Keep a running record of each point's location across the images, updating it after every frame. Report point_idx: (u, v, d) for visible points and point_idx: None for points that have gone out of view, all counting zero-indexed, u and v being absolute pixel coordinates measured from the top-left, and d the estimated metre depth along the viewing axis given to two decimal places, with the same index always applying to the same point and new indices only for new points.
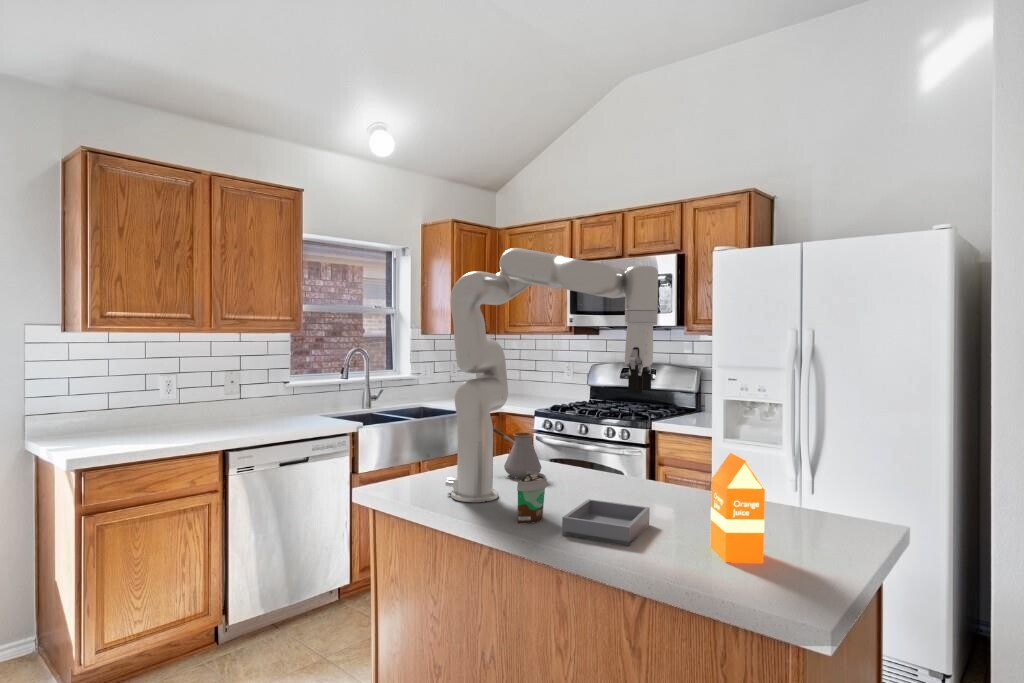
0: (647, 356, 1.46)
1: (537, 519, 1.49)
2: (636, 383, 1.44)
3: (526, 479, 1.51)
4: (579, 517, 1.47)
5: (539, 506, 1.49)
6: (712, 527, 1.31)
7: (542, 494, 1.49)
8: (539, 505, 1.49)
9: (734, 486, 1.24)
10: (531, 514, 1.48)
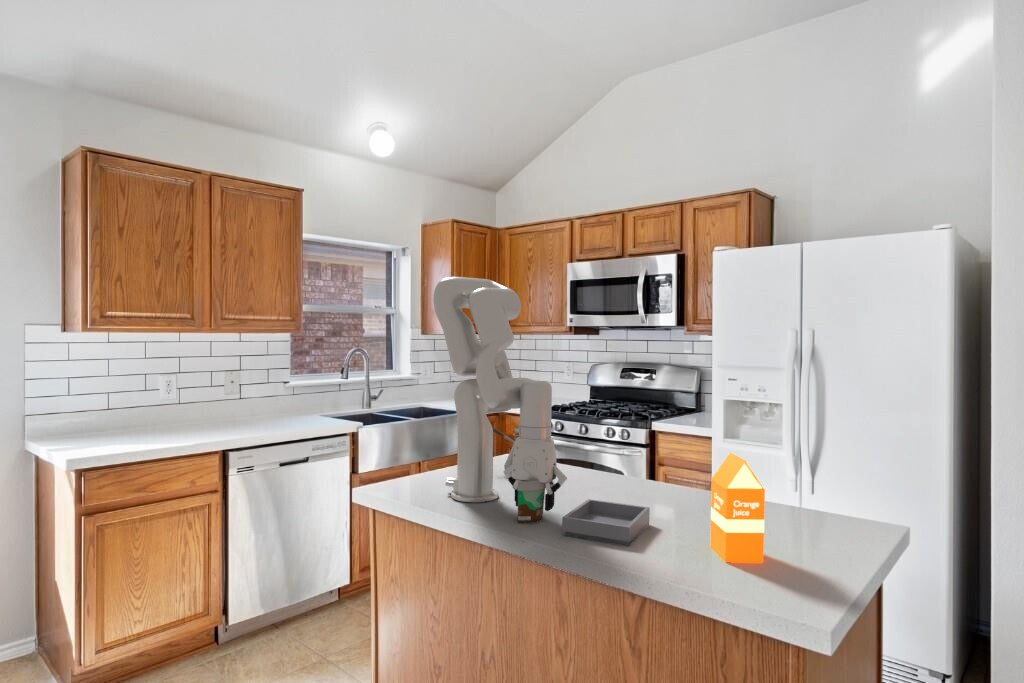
0: None
1: (537, 519, 1.49)
2: (553, 499, 1.50)
3: None
4: (579, 517, 1.47)
5: (539, 506, 1.49)
6: (712, 527, 1.31)
7: (542, 494, 1.49)
8: (539, 505, 1.49)
9: (734, 486, 1.24)
10: (531, 514, 1.48)
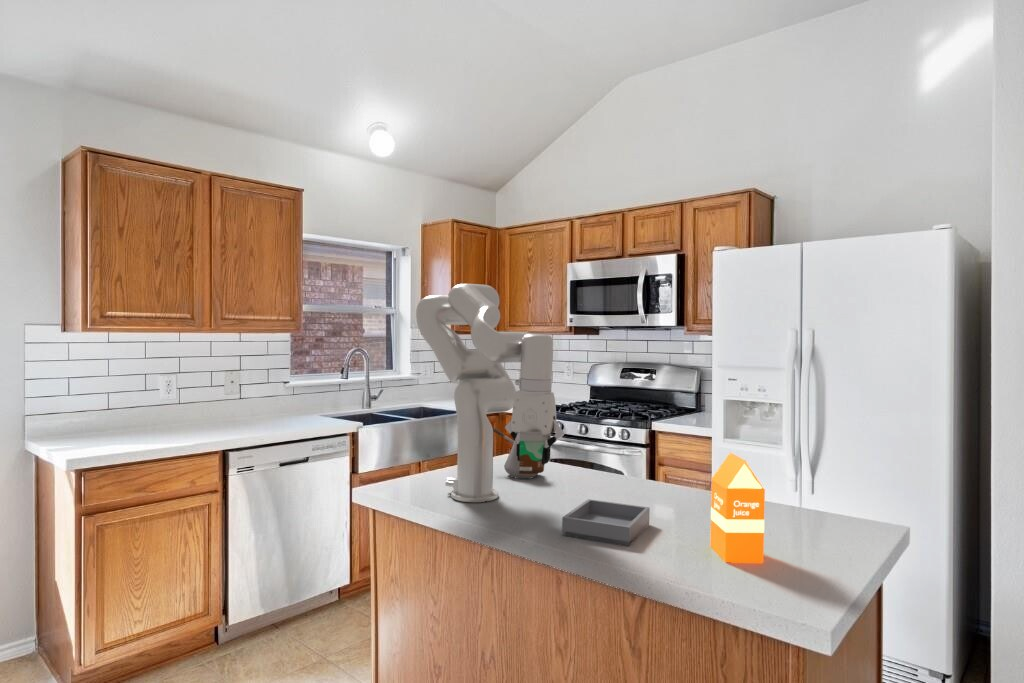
0: None
1: (538, 470, 1.49)
2: (549, 453, 1.50)
3: None
4: (579, 517, 1.47)
5: (541, 457, 1.49)
6: (712, 527, 1.31)
7: None
8: (541, 456, 1.49)
9: (734, 486, 1.24)
10: (533, 464, 1.47)
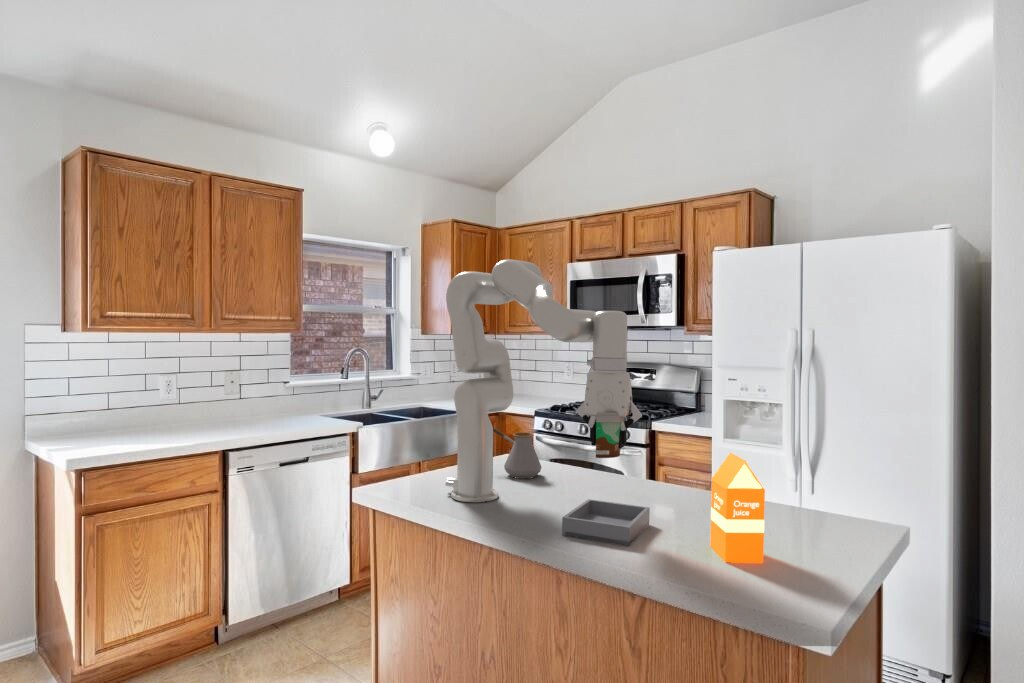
0: None
1: (615, 454, 1.40)
2: (626, 437, 1.42)
3: None
4: (579, 517, 1.47)
5: (618, 440, 1.40)
6: (712, 527, 1.31)
7: None
8: (618, 439, 1.40)
9: (734, 486, 1.24)
10: (610, 448, 1.39)
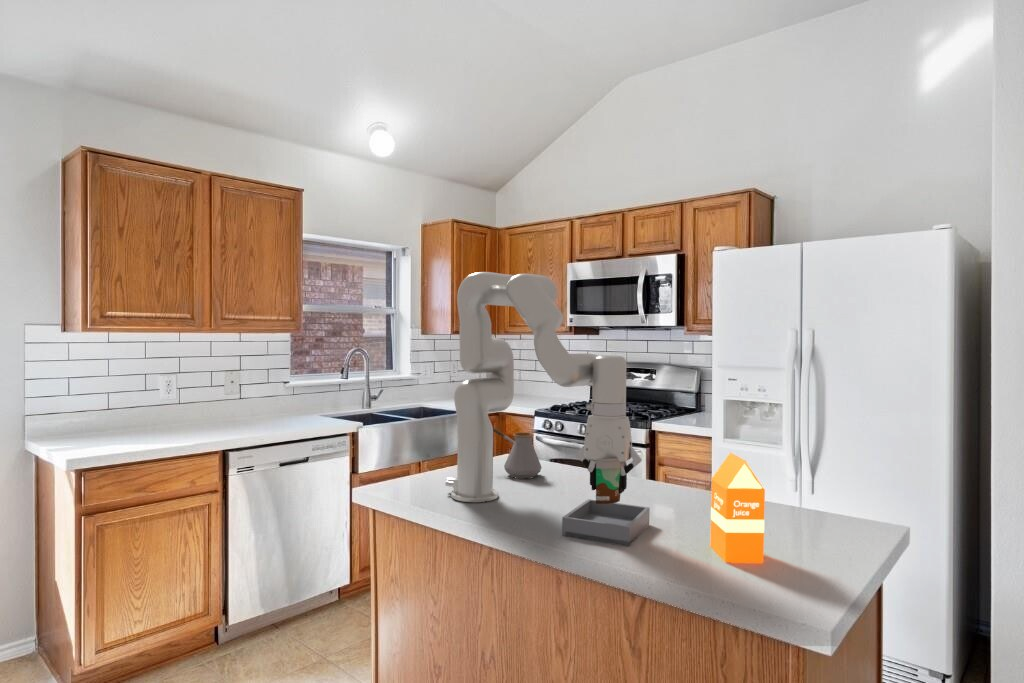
0: None
1: (616, 500, 1.40)
2: (626, 481, 1.42)
3: None
4: (579, 517, 1.47)
5: (618, 486, 1.40)
6: (712, 527, 1.31)
7: None
8: (618, 485, 1.40)
9: (734, 486, 1.24)
10: (610, 493, 1.39)
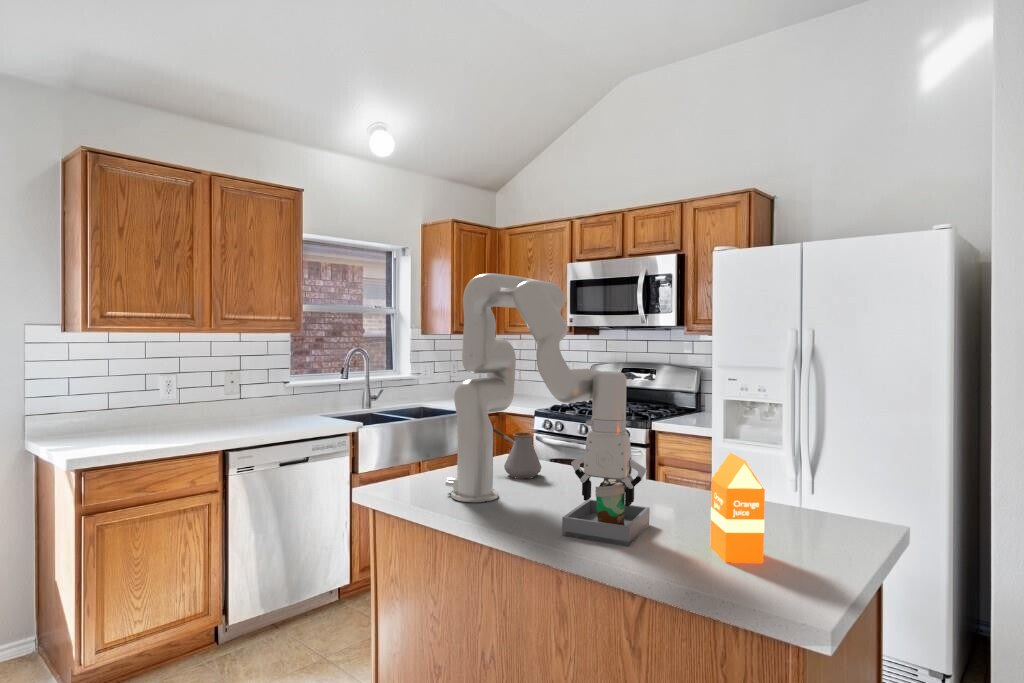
0: None
1: None
2: (633, 494, 1.41)
3: (604, 484, 1.43)
4: (579, 517, 1.47)
5: (620, 512, 1.40)
6: (712, 527, 1.31)
7: (622, 499, 1.41)
8: (620, 511, 1.40)
9: (734, 486, 1.24)
10: (612, 520, 1.39)
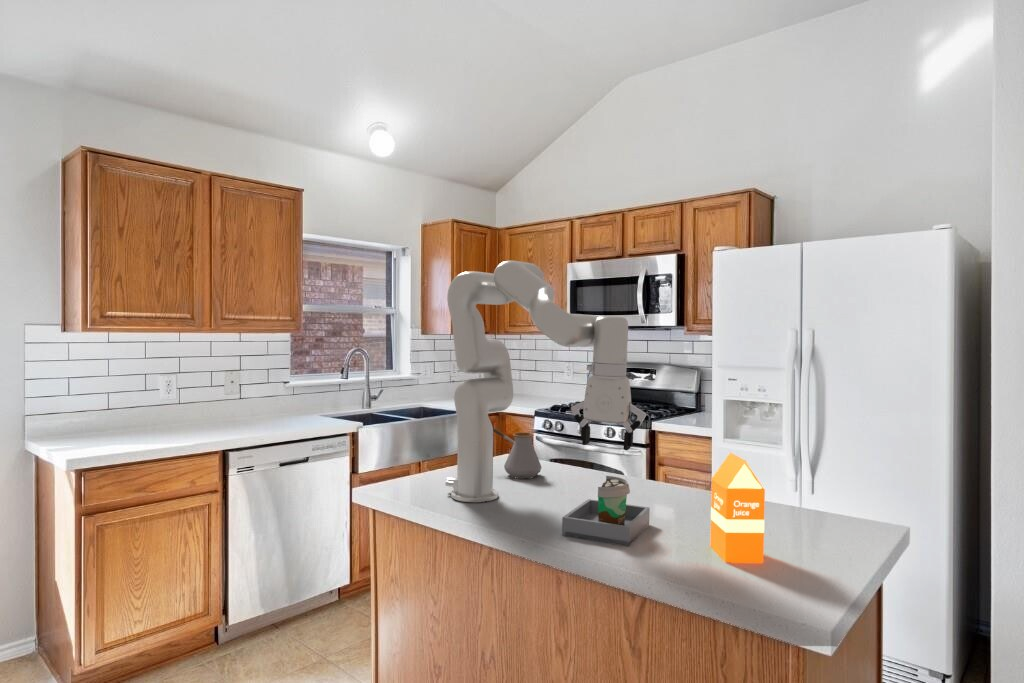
0: None
1: None
2: (632, 439, 1.41)
3: (607, 484, 1.43)
4: (579, 517, 1.47)
5: (621, 513, 1.40)
6: (712, 527, 1.31)
7: (624, 501, 1.41)
8: (621, 512, 1.40)
9: (734, 486, 1.24)
10: (613, 521, 1.39)
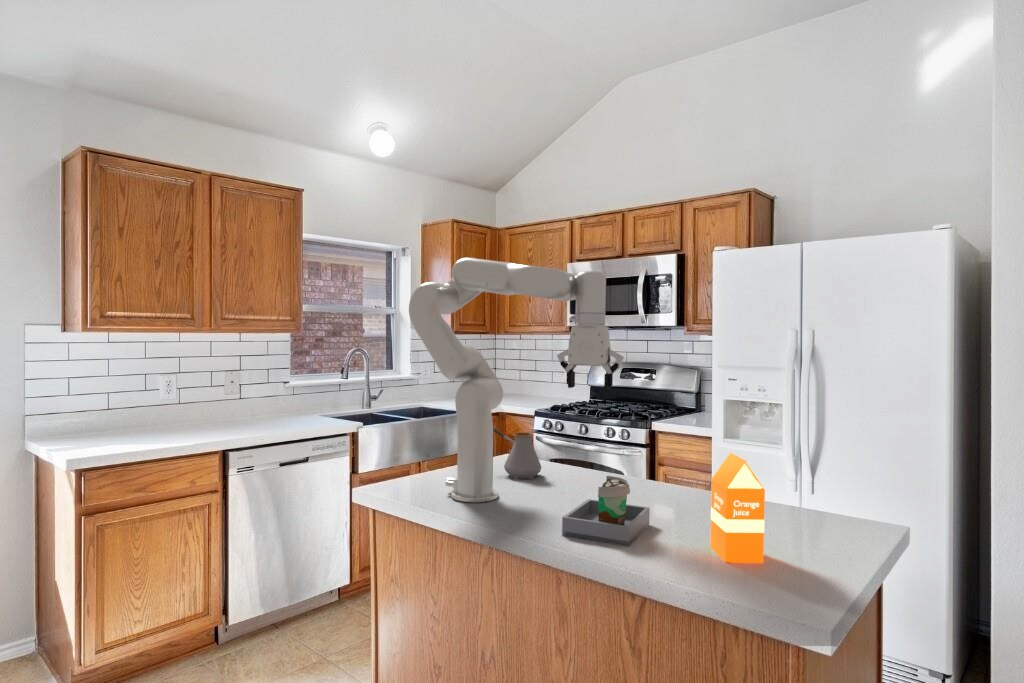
0: None
1: None
2: (612, 380, 1.58)
3: (607, 484, 1.43)
4: (579, 517, 1.47)
5: (621, 514, 1.40)
6: (712, 527, 1.31)
7: (624, 501, 1.41)
8: (621, 512, 1.40)
9: (734, 486, 1.24)
10: (613, 521, 1.39)
